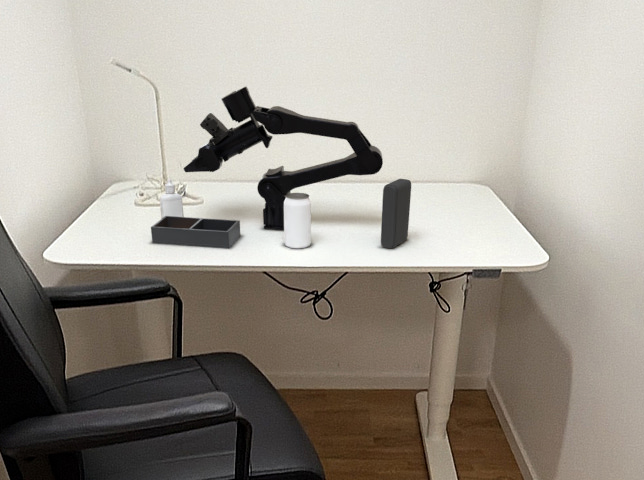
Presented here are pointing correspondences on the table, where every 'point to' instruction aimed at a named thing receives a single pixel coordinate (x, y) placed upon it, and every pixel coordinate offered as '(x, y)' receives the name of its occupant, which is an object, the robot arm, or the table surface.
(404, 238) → the dark grey upright block
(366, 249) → the table surface
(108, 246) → the table surface
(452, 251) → the table surface
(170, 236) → the divided tray
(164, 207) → the eye dropper bottle
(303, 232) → the can
